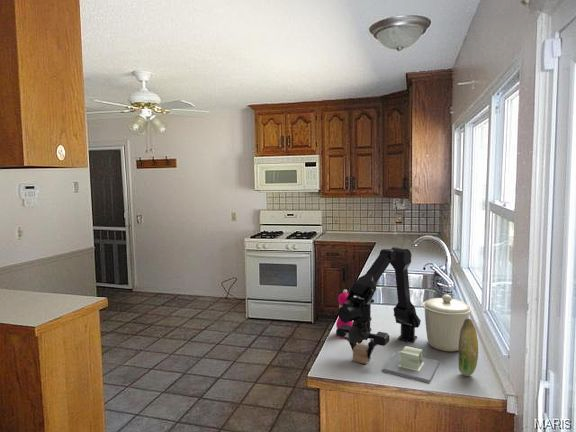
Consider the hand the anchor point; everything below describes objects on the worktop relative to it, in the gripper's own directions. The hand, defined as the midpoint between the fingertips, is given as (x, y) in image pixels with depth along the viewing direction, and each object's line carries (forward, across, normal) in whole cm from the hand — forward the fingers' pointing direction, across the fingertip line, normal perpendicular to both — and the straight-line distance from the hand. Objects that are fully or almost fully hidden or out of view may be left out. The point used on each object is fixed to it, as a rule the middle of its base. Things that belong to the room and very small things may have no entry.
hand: (361, 357), depth 150 cm
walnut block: (+1, 0, 0) cm, 1 cm away
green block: (0, +17, +4) cm, 17 cm away
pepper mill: (+2, -15, +19) cm, 24 cm away
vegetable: (+2, +35, +7) cm, 36 cm away
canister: (+2, +24, +29) cm, 38 cm away
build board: (+1, +17, +4) cm, 18 cm away
